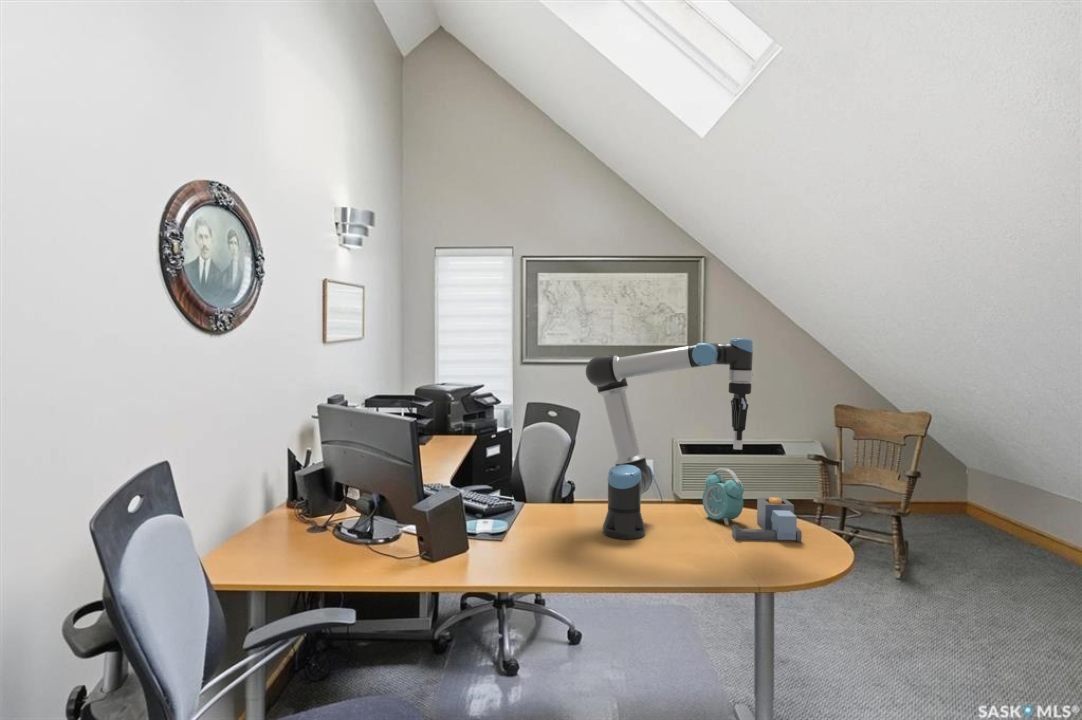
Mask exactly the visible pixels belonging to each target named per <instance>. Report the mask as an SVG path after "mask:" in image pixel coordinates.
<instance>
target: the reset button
mask: <svg viewBox="0 0 1082 720" xmlns="http://www.w3.org/2000/svg"><path fill="white" fill-rule="evenodd" d="M768 498H769V503H773V504H782V499H781V498H782V497H777V496H776V497H774V496H772V497H768Z"/></svg>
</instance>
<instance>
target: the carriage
mask: <svg viewBox="0 0 1082 720" xmlns="http://www.w3.org/2000/svg"><path fill="white" fill-rule="evenodd" d="M797 520H798V518H797V515H796V514H795V513H794V514H793V513H792V512H791V511H782V510H772V530H775V531H776V532H777V539H778V540H796V529H797V528H798V527H797V525H798V524H797Z"/></svg>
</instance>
